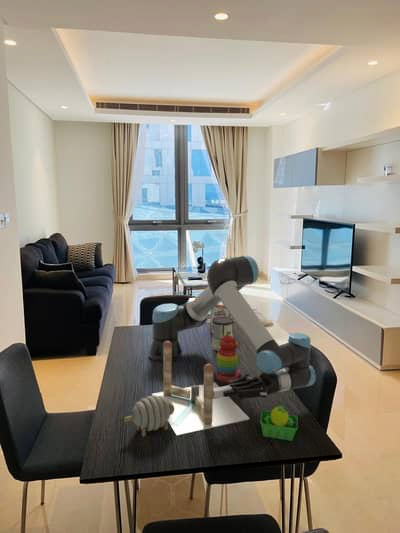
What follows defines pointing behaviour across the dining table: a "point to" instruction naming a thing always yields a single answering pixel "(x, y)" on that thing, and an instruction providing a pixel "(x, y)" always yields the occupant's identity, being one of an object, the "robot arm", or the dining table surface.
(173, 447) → the dining table surface
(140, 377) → the dining table surface
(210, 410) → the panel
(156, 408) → the toy sheep
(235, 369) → the stacking bear
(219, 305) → the candy bar box
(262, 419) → the fruit basket
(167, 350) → the wooden post with ball
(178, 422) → the card
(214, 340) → the coffee can
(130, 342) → the dining table surface
